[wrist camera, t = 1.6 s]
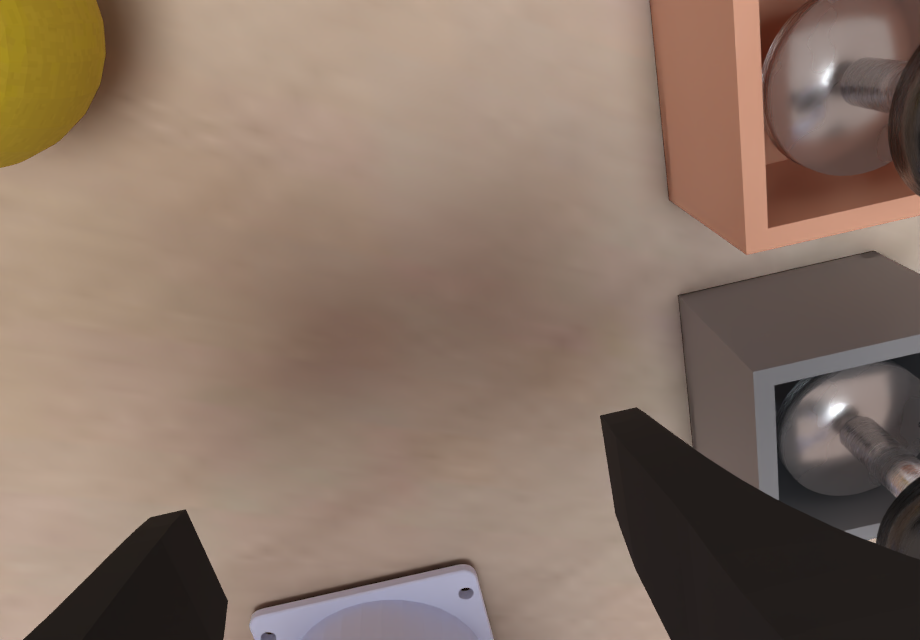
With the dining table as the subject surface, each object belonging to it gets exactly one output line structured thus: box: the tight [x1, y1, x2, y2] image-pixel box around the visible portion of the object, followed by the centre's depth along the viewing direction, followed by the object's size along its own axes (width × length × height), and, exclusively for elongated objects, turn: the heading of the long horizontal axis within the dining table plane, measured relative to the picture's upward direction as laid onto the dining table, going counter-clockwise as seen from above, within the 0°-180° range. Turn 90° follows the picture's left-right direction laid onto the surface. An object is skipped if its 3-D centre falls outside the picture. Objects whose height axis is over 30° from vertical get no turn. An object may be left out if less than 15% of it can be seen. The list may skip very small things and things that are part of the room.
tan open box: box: [650, 0, 920, 255], centre depth 17 cm, size 6×7×5 cm
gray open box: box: [678, 251, 920, 540], centre depth 21 cm, size 6×7×5 cm
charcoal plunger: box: [776, 359, 920, 560], centre depth 17 cm, size 4×4×5 cm
